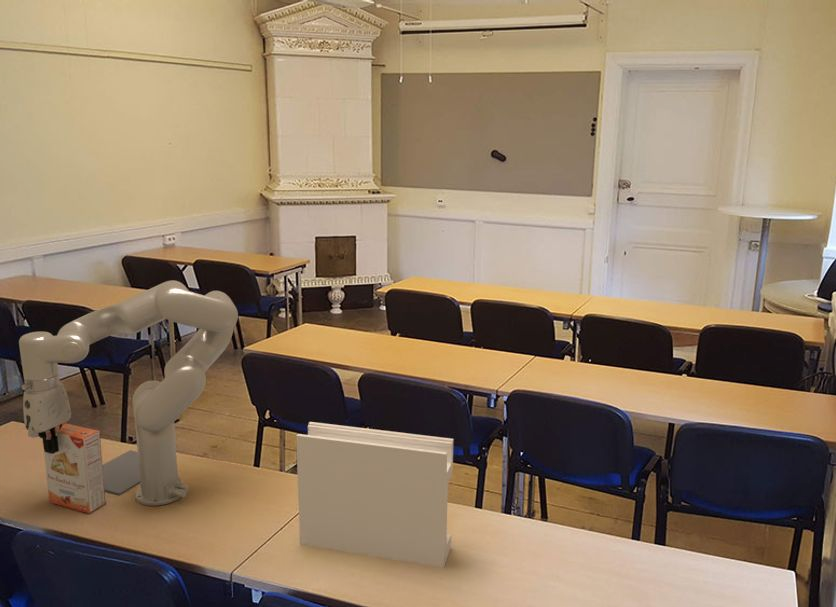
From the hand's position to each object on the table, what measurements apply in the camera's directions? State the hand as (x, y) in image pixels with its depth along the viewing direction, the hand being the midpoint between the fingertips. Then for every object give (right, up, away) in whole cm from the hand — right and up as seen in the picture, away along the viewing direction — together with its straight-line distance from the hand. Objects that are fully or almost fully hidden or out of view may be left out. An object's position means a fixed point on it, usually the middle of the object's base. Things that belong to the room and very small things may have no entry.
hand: (51, 451), depth 180 cm
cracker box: (+3, -16, +8) cm, 18 cm away
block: (+81, -21, -9) cm, 84 cm away
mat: (+8, -11, +25) cm, 29 cm away
